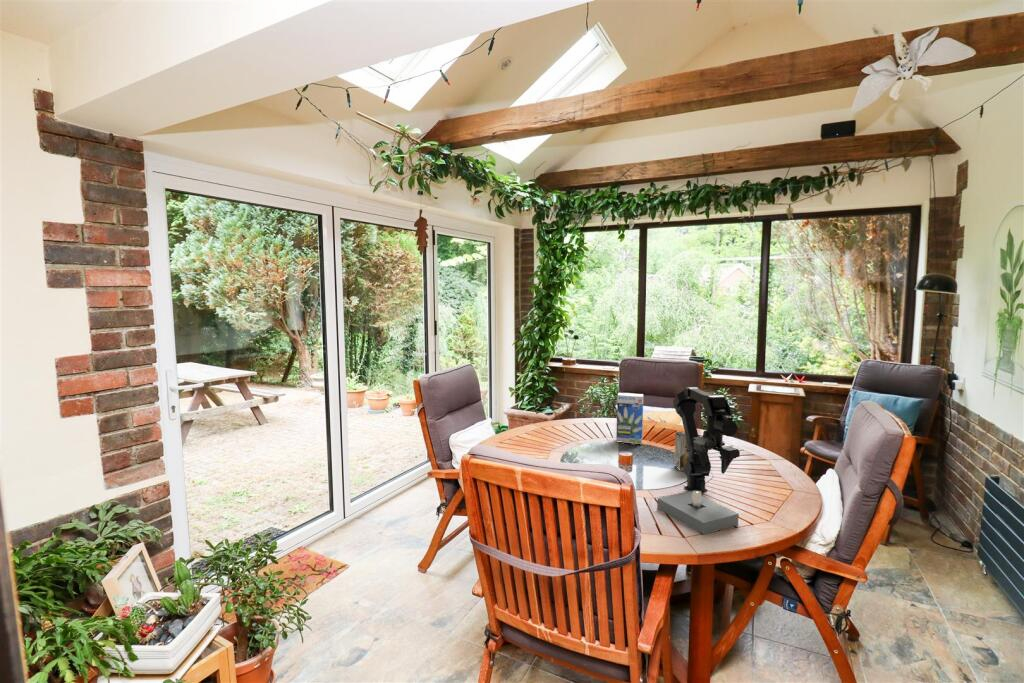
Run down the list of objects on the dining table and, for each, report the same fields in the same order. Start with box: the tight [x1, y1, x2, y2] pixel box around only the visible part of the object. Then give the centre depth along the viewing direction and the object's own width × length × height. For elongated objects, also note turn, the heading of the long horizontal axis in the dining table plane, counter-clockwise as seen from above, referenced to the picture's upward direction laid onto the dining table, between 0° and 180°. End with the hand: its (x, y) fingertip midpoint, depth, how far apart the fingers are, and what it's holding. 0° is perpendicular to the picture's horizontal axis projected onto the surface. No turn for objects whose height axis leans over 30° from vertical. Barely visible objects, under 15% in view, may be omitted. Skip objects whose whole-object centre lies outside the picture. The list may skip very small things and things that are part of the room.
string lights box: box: [615, 392, 644, 444], centre depth 264 cm, size 13×8×26 cm, turn 73°
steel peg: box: [692, 490, 703, 509], centre depth 177 cm, size 3×3×9 cm
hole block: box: [656, 490, 740, 535], centre depth 177 cm, size 22×16×4 cm
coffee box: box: [674, 431, 701, 470], centre depth 225 cm, size 9×6×16 cm
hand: (713, 469), depth 187 cm, fingers open, 9 cm apart
